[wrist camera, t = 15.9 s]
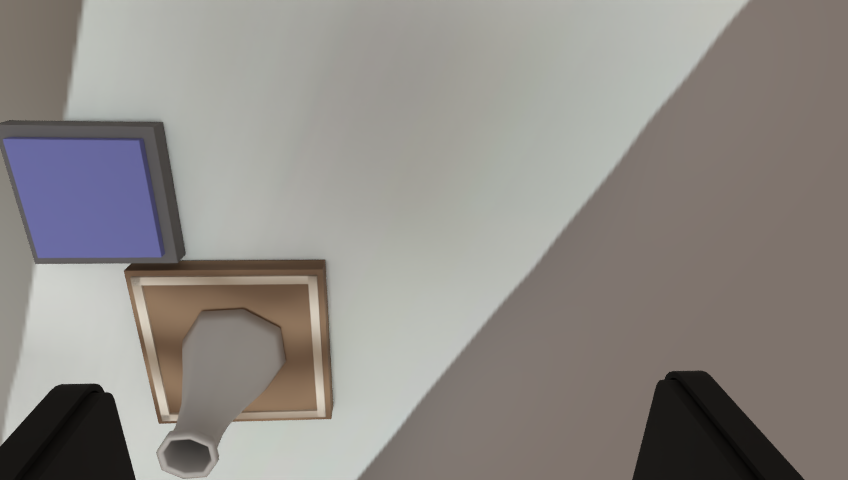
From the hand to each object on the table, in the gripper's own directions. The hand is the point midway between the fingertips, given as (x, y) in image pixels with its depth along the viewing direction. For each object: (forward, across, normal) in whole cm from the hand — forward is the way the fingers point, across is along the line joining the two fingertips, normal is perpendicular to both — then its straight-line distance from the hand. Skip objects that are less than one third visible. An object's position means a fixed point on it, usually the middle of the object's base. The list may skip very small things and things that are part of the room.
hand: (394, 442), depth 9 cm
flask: (+25, +11, +15) cm, 31 cm away
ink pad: (+26, +18, +4) cm, 32 cm away
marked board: (+26, +11, +16) cm, 32 cm away
